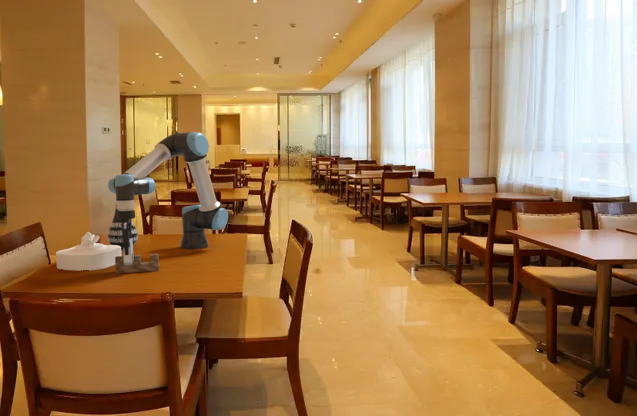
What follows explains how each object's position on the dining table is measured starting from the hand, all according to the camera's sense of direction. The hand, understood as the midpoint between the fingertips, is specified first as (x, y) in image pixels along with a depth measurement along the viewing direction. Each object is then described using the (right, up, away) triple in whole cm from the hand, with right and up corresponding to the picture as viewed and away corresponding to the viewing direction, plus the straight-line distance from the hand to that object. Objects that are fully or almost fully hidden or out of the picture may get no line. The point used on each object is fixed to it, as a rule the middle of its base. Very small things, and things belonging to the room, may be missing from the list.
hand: (128, 259), depth 233 cm
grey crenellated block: (+4, -5, +2) cm, 7 cm away
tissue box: (-25, -4, +18) cm, 31 cm away
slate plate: (0, -1, 0) cm, 1 cm away
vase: (-24, 0, +58) cm, 63 cm away
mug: (-33, -2, +40) cm, 52 cm away
